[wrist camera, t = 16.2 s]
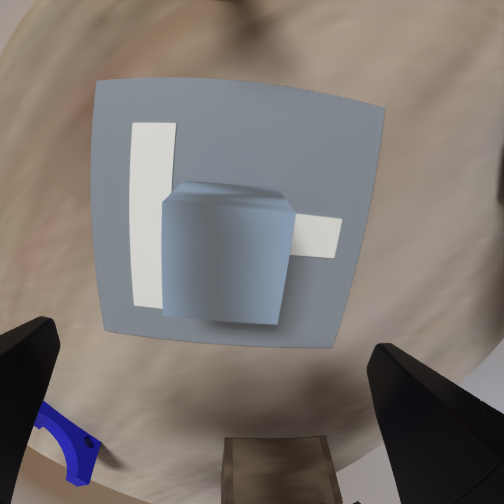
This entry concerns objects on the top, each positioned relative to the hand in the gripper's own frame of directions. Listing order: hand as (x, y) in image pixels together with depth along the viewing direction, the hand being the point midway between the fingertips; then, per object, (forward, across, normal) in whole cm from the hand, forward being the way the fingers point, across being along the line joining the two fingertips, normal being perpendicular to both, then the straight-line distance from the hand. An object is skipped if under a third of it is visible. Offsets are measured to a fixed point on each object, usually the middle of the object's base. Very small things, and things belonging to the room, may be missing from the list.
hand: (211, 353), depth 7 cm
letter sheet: (+10, 0, 0) cm, 10 cm away
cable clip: (+11, +18, +22) cm, 30 cm away
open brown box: (+10, -6, +25) cm, 28 cm away
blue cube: (+10, 0, 0) cm, 10 cm away
